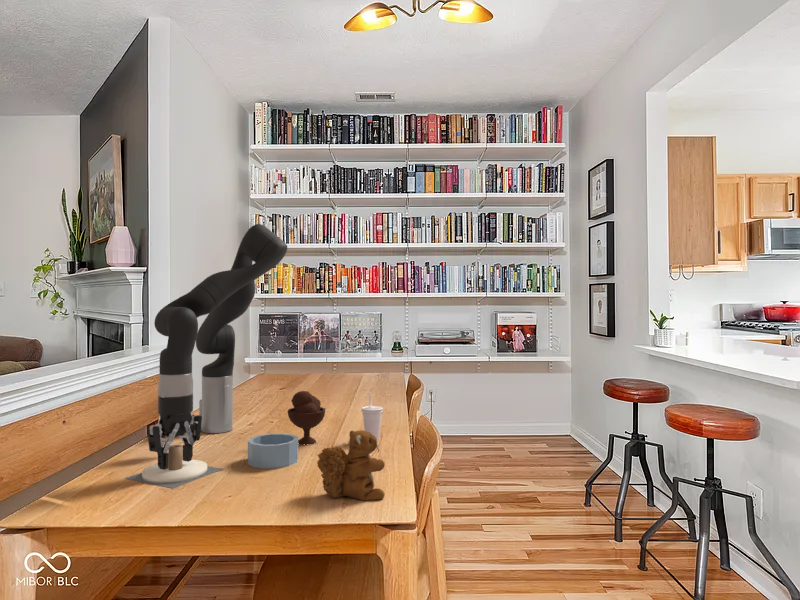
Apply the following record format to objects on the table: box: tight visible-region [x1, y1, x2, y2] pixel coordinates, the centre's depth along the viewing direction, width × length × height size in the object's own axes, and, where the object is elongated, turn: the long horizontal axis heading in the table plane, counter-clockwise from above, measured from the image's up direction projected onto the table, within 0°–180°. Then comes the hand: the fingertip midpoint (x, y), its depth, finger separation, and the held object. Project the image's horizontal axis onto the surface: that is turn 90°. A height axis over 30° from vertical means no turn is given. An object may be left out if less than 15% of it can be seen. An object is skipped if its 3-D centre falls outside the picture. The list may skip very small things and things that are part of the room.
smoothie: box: [361, 392, 384, 443], centre depth 158 cm, size 6×6×14 cm
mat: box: [124, 465, 224, 489], centre depth 126 cm, size 15×15×1 cm
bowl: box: [247, 432, 299, 470], centre depth 136 cm, size 12×12×6 cm
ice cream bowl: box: [287, 390, 327, 446], centre depth 156 cm, size 11×11×15 cm
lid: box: [141, 444, 208, 484], centre depth 126 cm, size 14×14×6 cm
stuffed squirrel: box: [316, 429, 386, 501], centre depth 115 cm, size 10×14×13 cm
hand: (175, 464), depth 126 cm, fingers open, 6 cm apart
